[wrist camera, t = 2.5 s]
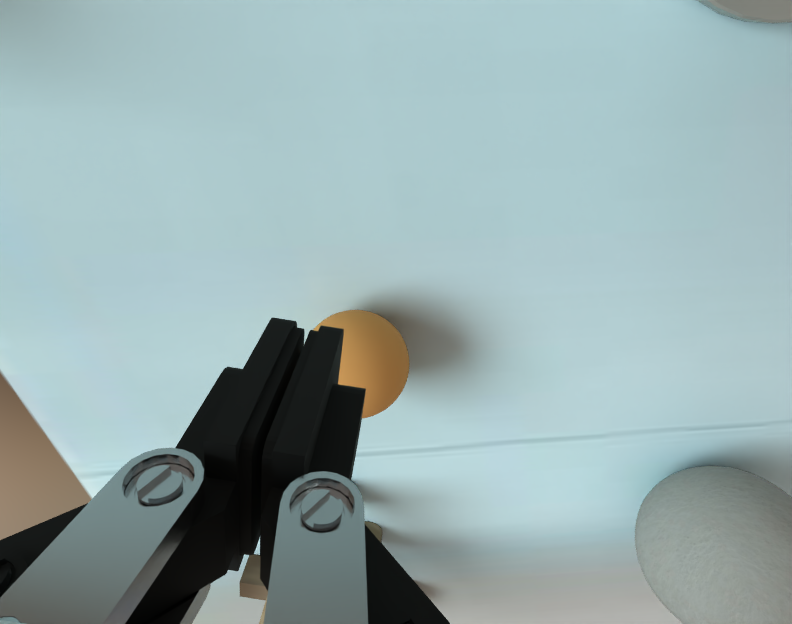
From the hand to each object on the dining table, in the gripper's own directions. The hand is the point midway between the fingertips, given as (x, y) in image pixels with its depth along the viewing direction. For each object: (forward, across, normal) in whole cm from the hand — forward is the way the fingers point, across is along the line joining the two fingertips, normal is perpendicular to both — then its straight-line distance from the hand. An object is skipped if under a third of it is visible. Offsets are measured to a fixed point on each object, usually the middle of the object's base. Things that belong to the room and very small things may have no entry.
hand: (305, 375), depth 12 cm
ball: (+16, -24, +17) cm, 34 cm away
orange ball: (+13, 0, +9) cm, 16 cm away
